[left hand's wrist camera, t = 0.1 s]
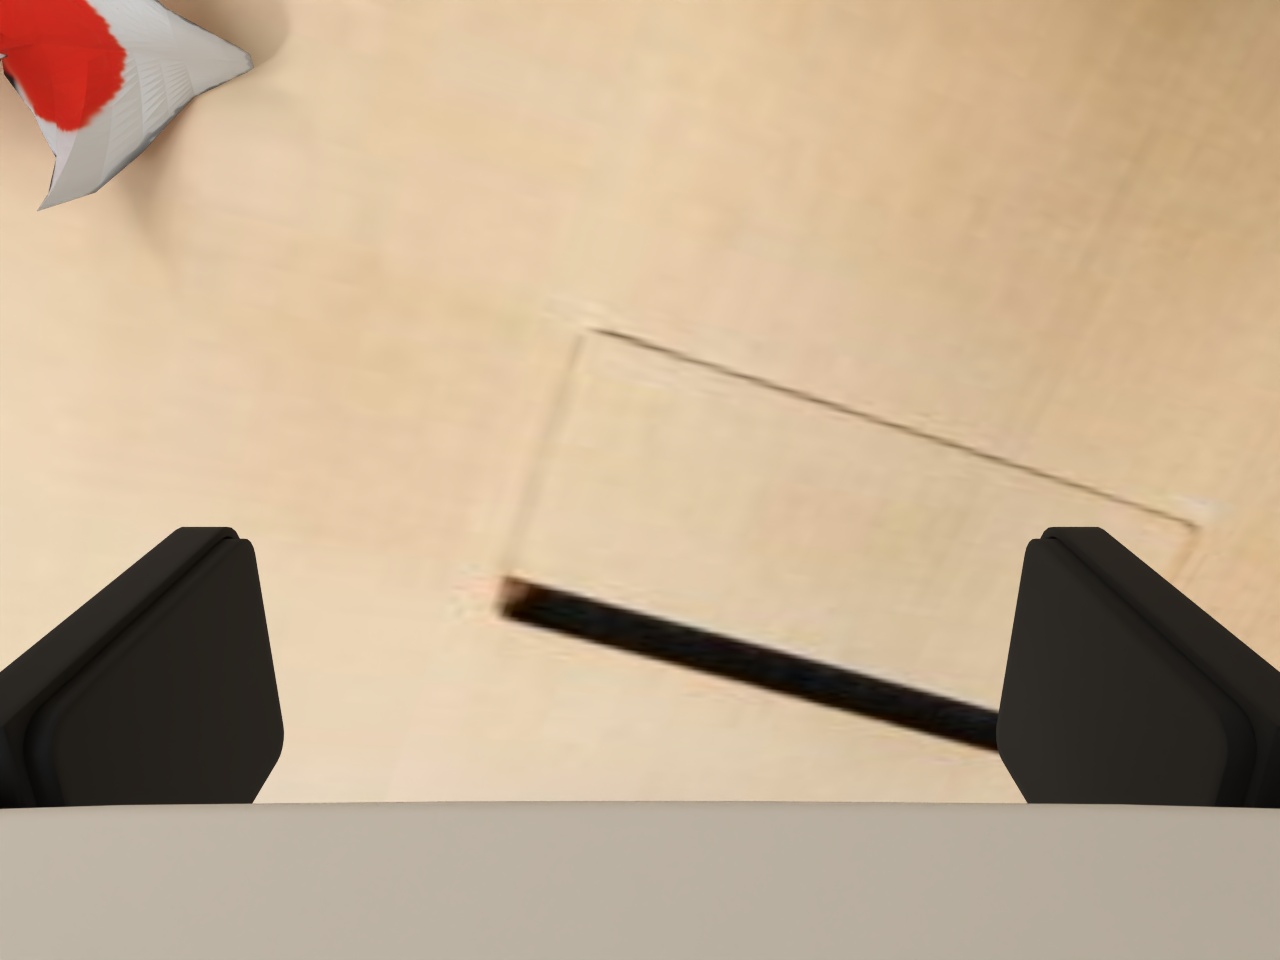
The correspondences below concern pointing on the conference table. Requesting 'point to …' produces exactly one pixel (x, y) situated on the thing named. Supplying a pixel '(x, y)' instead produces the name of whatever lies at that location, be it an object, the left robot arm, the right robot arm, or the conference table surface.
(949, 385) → the conference table surface
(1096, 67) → the conference table surface
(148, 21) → the red white curved piece
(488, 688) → the conference table surface
